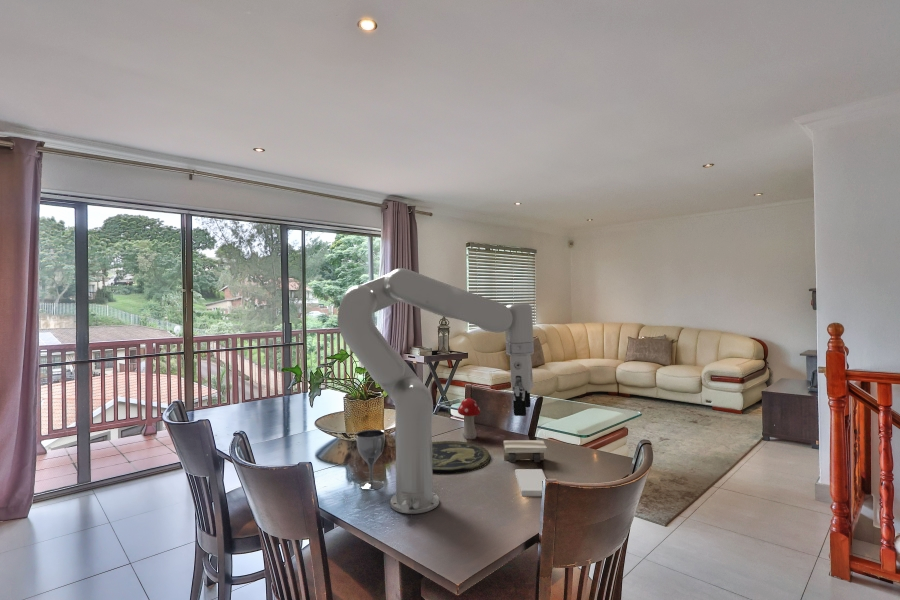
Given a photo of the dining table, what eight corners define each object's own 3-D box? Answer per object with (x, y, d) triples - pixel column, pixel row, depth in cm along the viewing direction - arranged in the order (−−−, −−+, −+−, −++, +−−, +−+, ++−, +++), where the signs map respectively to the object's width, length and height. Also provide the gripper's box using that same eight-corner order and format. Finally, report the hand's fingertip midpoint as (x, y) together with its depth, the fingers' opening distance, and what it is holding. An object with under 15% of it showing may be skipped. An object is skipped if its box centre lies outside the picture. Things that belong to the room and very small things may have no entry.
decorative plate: (388, 466, 144) (414, 438, 174) (388, 472, 144) (414, 443, 174) (484, 472, 138) (494, 442, 168) (484, 478, 138) (494, 447, 168)
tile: (551, 498, 124) (551, 490, 124) (521, 498, 124) (521, 490, 124) (541, 475, 140) (541, 469, 140) (515, 475, 140) (515, 469, 140)
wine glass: (391, 484, 133) (390, 432, 133) (369, 493, 127) (368, 438, 127) (373, 478, 139) (372, 428, 139) (351, 486, 133) (350, 433, 133)
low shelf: (547, 467, 146) (546, 447, 146) (505, 467, 146) (505, 447, 146) (543, 458, 154) (542, 440, 154) (503, 458, 154) (503, 440, 154)
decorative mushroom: (455, 434, 183) (454, 396, 183) (475, 432, 186) (474, 395, 186) (463, 441, 174) (462, 401, 174) (484, 439, 176) (484, 400, 176)
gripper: (529, 352, 117) (532, 419, 117) (536, 345, 134) (539, 404, 134) (500, 352, 120) (503, 418, 119) (511, 345, 136) (513, 403, 136)
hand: (522, 411), depth 127 cm, fingers open, 9 cm apart
